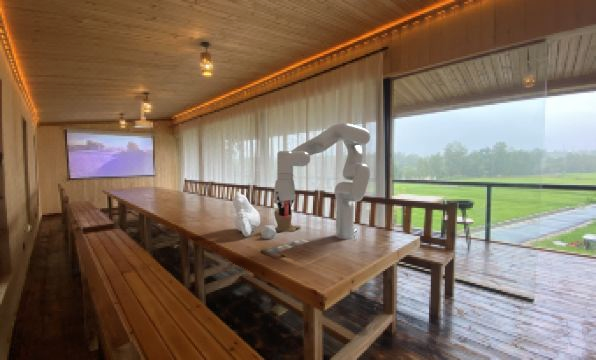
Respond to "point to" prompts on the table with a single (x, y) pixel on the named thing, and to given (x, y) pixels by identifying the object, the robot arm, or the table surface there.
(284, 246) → the board
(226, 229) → the table surface
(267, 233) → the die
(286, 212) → the pawn
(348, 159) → the robot arm
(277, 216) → the stone cup
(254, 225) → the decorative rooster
